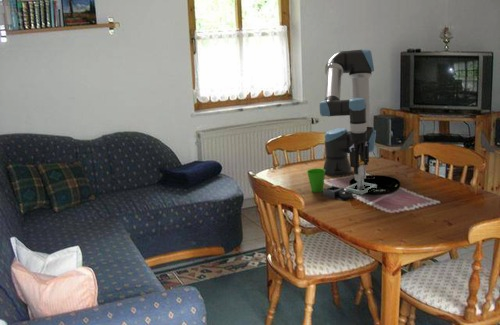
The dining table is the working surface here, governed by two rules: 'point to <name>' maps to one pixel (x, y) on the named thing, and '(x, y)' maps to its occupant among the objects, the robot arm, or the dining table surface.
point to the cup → (316, 179)
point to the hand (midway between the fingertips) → (360, 179)
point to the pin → (361, 176)
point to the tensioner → (338, 193)
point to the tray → (350, 188)
